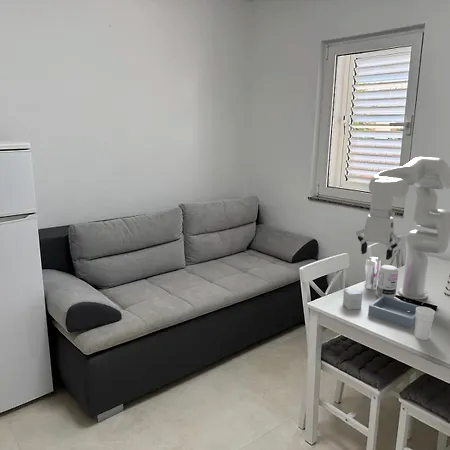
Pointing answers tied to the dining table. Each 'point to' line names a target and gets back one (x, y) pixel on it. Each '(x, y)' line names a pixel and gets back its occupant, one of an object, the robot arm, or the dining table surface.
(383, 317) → the crate
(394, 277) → the supplement can
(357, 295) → the skincare box
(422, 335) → the cup
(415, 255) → the robot arm
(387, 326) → the dining table surface
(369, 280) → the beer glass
